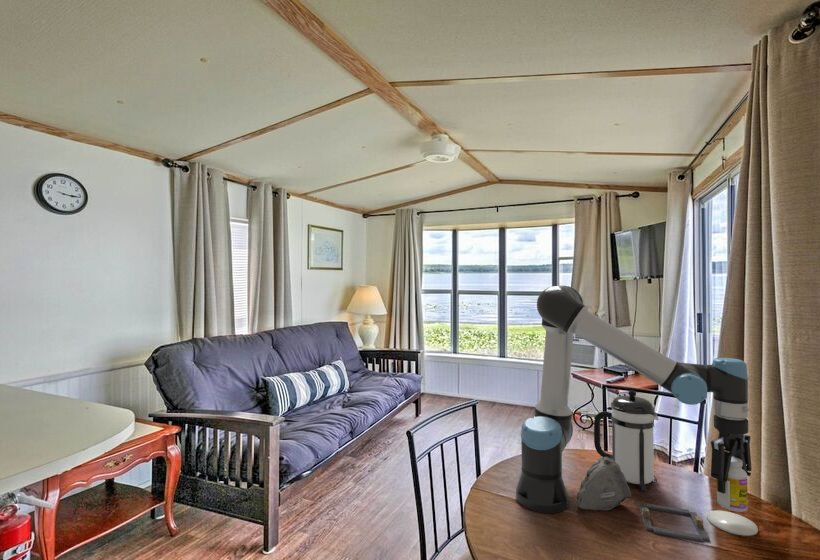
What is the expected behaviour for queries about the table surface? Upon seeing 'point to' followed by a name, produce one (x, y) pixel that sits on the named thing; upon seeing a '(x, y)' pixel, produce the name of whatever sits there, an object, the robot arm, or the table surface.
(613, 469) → the decorative rock
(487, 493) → the table surface
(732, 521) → the coaster
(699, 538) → the grey square frame
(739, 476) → the supplement bottle
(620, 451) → the coffee press
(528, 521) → the table surface
